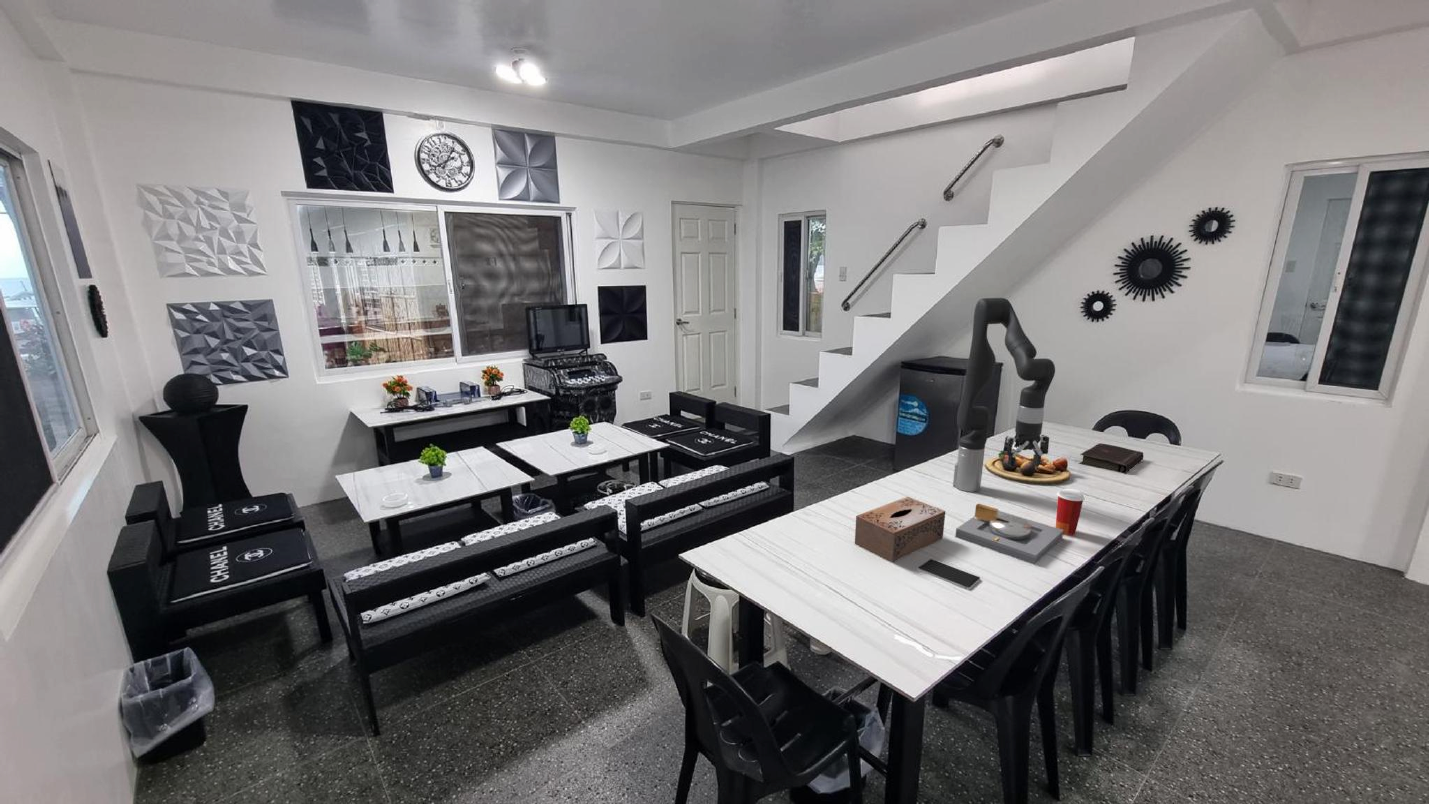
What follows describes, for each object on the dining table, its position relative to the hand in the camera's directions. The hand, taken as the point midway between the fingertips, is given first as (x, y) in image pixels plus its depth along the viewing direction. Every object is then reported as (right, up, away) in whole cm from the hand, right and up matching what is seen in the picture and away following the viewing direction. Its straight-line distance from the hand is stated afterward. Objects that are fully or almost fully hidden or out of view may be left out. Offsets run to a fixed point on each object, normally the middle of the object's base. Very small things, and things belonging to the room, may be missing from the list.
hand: (1023, 466), depth 188 cm
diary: (+74, -6, +65) cm, 98 cm away
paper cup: (+14, -22, 0) cm, 26 cm away
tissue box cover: (-43, -24, -5) cm, 50 cm away
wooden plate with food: (+31, -9, +54) cm, 63 cm away
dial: (-9, -20, -2) cm, 22 cm away
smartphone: (-35, -29, -25) cm, 52 cm away
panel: (-7, -23, -4) cm, 24 cm away
